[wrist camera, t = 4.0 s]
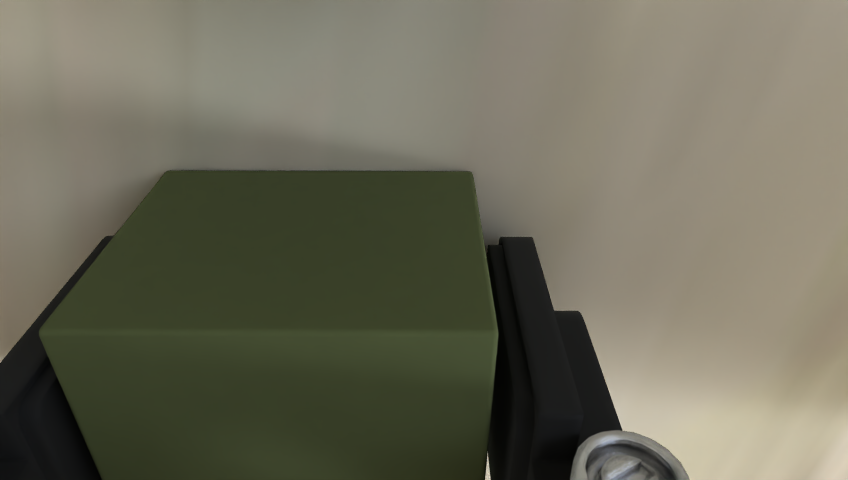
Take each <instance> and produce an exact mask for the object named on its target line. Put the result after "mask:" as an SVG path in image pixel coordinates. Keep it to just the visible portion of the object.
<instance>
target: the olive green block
mask: <svg viewBox="0 0 848 480" xmlns="http://www.w3.org/2000/svg"><path fill="white" fill-rule="evenodd" d="M498 334H499V333H498V327H497V320H496V314H495V308H494V302H493V295H492V289H491V283H490V277H489V271H488V264H487V258H486V252H485V246H484V239H483V233H482V227H481V221H480V214H479V208H478V202H477V196H476V190H475V183H474V177H473V174H472V172H460V171H171V170H170V171H167V172H165V174H164V175H163V176H162V177H161V178H160V180H159V181H158V182H157V183H156V185H155V186H154V187H153V188H152V190H151V191H150V192H149V193H148V195H147V196H146V197H145V198H144V200H143V201H142V202H141V203H140V205H139V206H138V207H137V208H136V210H135V211H134V212H133V213H132V215H131V216H130V217H129V218H128V220H127V221H126V222H125V223H124V225H123V226H122V227H121V228H120V230H119V231H118V232H117V233H116V234H115V236H114V237H113V238H112V239H111V241H110V242H109V243H108V244H107V246H106V247H105V248H104V249H103V251H102V252H101V253H100V254H99V256H98V257H97V258H96V259H95V261H94V262H93V263H92V264H91V266H90V267H89V268H88V269H87V271H86V272H85V273H84V274H83V276H82V277H81V278H80V279H79V281H78V282H77V283H76V284H75V285H74V287H73V288H72V289H71V290H70V292H69V293H68V294H67V295H66V297H65V298H64V299H63V300H62V302H61V303H60V304H59V305H58V307H57V308H56V309H55V310H54V312H53V313H52V314H51V315H50V317H49V318H48V319H47V320H46V322H45V323H44V324H43V325H42V327H41V328H40V330H39V337H40V339H41V341H42V344H43V346H44V348H45V350H46V353H47V355H48V357H49V360H50V362H51V364H52V366H53V369H54V371H55V373H56V376H57V378H58V380H59V383H60V385H61V387H62V389H63V392H64V394H65V396H66V399H67V401H68V403H69V405H70V408H71V410H72V412H73V415H74V417H75V419H76V421H77V424H78V426H79V428H80V431H81V433H82V435H83V437H84V440H85V442H86V444H87V447H88V449H89V451H90V454H91V456H92V458H93V460H94V463H95V465H96V467H97V470H98V472H99V474H100V476H101V479H102V480H485V474H486V463H487V452H488V441H489V431H490V420H491V409H492V398H493V387H494V377H495V366H496V355H497V344H498Z"/></svg>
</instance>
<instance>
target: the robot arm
mask: <svg viewBox="0 0 848 480" xmlns="http://www.w3.org/2000/svg"><path fill="white" fill-rule="evenodd" d="M113 237H114V236H106V237H105V238H104V239H103V240H102V241H101V242H100V243H99V244H98V246H97V247H96V248H95V249H94V250H93V252H92V253H91V254H90V255H89V256H88V258H87V259H86V260H85V261H84V263H83V264H82V265H81V266H80V267H79V269H78V270H77V271H76V272H75V273H74V275H73V276H72V277H71V278H70V279H69V281H68V282H67V283H66V284H65V285H64V287H63V288H62V289H61V290H60V292H59V293H58V294H57V295H56V296H55V298H54V299H53V300H52V301H51V302H50V304H49V305H48V306H47V307H46V308H45V310H44V311H43V312H42V313H41V314H40V316H39V317H38V318H37V319H36V321H35V322H34V323H33V324H32V325H31V327H30V328H29V329H28V330H27V331H26V333H25V334H24V335H23V336H22V337H21V339H20V340H19V341H18V342H17V343H16V345H15V346H14V347H13V348H12V350H11V351H10V352H9V353H8V354H7V356H6V357H5V358H4V359H3V360H2V362H1V363H0V480H102V479H101V476H100V474H99V472H98V470H97V467H96V465H95V463H94V460H93V458H92V456H91V454H90V451H89V449H88V447H87V444H86V442H85V440H84V437H83V435H82V433H81V431H80V428H79V426H78V424H77V421H76V419H75V417H74V415H73V412H72V410H71V408H70V405H69V403H68V401H67V399H66V396H65V394H64V392H63V389H62V387H61V385H60V383H59V380H58V378H57V376H56V373H55V371H54V369H53V366H52V364H51V362H50V360H49V357H48V355H47V353H46V350H45V348H44V346H43V344H42V341H41V339H40V337H39V330H40V328H41V327H42V325H43V324H44V323H45V322H46V320H47V319H48V318H49V317H50V315H51V314H52V313H53V312H54V310H55V309H56V308H57V307H58V305H59V304H60V303H61V302H62V300H63V299H64V298H65V297H66V295H67V294H68V293H69V292H70V290H71V289H72V288H73V287H74V285H75V284H76V283H77V282H78V281H79V279H80V278H81V277H82V276H83V274H84V273H85V272H86V271H87V269H88V268H89V267H90V266H91V264H92V263H93V262H94V261H95V259H96V258H97V257H98V256H99V254H100V253H101V252H102V251H103V249H104V248H105V247H106V246H107V244H108V243H109V242H110V241H111V239H112V238H113ZM487 264H488V271H489V277H490V283H491V289H492V295H493V302H494V308H495V314H496V320H497V327H498V333H499V334H498V344H497V355H496V366H495V377H494V387H493V398H492V409H491V420H490V431H489V441H488V458H489V467H490V476H491V480H690V479H689V476H688V475H687V473H686V471H685V469H684V468H683V466H682V464H681V462H680V461H679V460H678V459H677V458H676V457H675V456H674V455H673V454H672V453H671V452H670V451H669V450H668V449H666V448H665V447H663V446H662V445H660V444H659V443H657V442H656V441H654V440H652V439H650V438H648V437H645V436H642V435H640V434H637V433H634V432H627V431H622V428H621V425H620V422H619V419H618V416H617V414H616V411H615V408H614V405H613V402H612V399H611V396H610V393H609V391H608V388H607V385H606V382H605V379H604V376H603V373H602V370H601V368H600V365H599V362H598V359H597V356H596V353H595V350H594V347H593V345H592V342H591V339H590V336H589V333H588V330H587V327H586V324H585V322H584V319H583V317H582V315H581V313H580V312H579V311H554V310H553V306H552V303H551V299H550V296H549V292H548V289H547V285H546V282H545V278H544V275H543V271H542V268H541V265H540V261H539V258H538V254H537V251H536V247H535V244H534V240H533V238H532V237H500V240H499V245H488V249H487Z"/></svg>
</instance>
